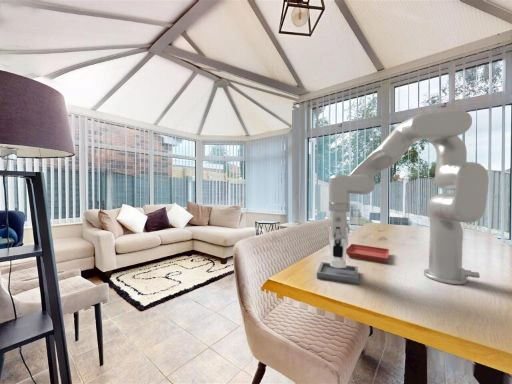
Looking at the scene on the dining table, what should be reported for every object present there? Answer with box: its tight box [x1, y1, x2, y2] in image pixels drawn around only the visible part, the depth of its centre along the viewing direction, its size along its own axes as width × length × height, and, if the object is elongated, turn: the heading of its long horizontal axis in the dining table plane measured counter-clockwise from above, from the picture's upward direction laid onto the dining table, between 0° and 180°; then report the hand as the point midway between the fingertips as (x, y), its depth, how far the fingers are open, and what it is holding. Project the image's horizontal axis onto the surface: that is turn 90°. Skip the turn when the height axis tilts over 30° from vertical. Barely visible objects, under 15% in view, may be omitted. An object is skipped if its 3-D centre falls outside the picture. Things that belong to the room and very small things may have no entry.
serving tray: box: [316, 261, 359, 286], centre depth 88 cm, size 14×13×2 cm
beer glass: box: [328, 225, 349, 269], centre depth 88 cm, size 7×7×15 cm
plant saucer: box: [346, 243, 390, 263], centre depth 113 cm, size 18×18×3 cm
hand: (338, 253), depth 88 cm, fingers closed on beer glass, 6 cm apart
